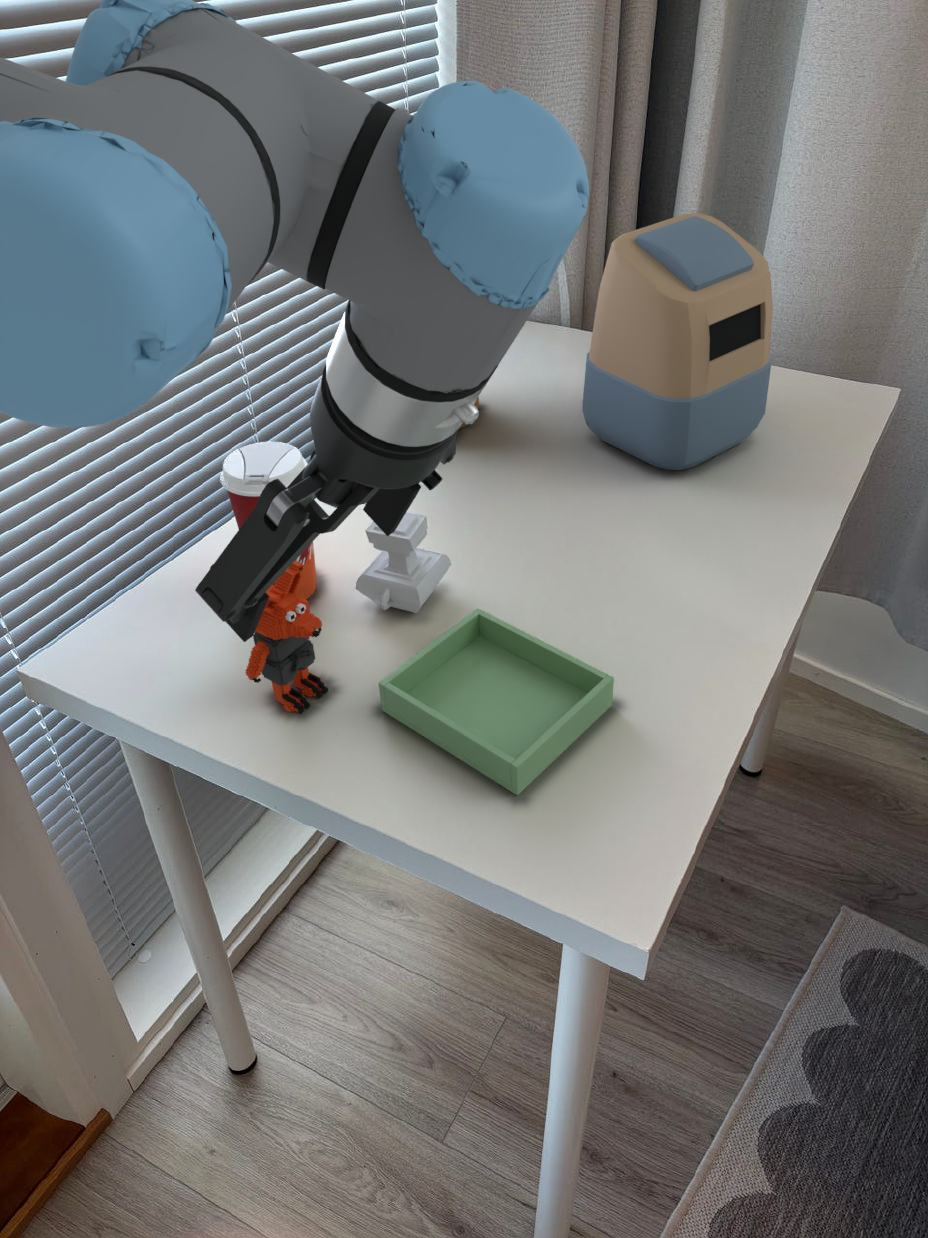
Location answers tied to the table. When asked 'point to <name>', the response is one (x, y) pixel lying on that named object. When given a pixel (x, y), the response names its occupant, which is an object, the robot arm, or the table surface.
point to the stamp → (402, 566)
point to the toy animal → (287, 643)
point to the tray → (497, 698)
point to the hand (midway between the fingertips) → (310, 569)
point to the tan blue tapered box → (679, 342)
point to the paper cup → (250, 476)
